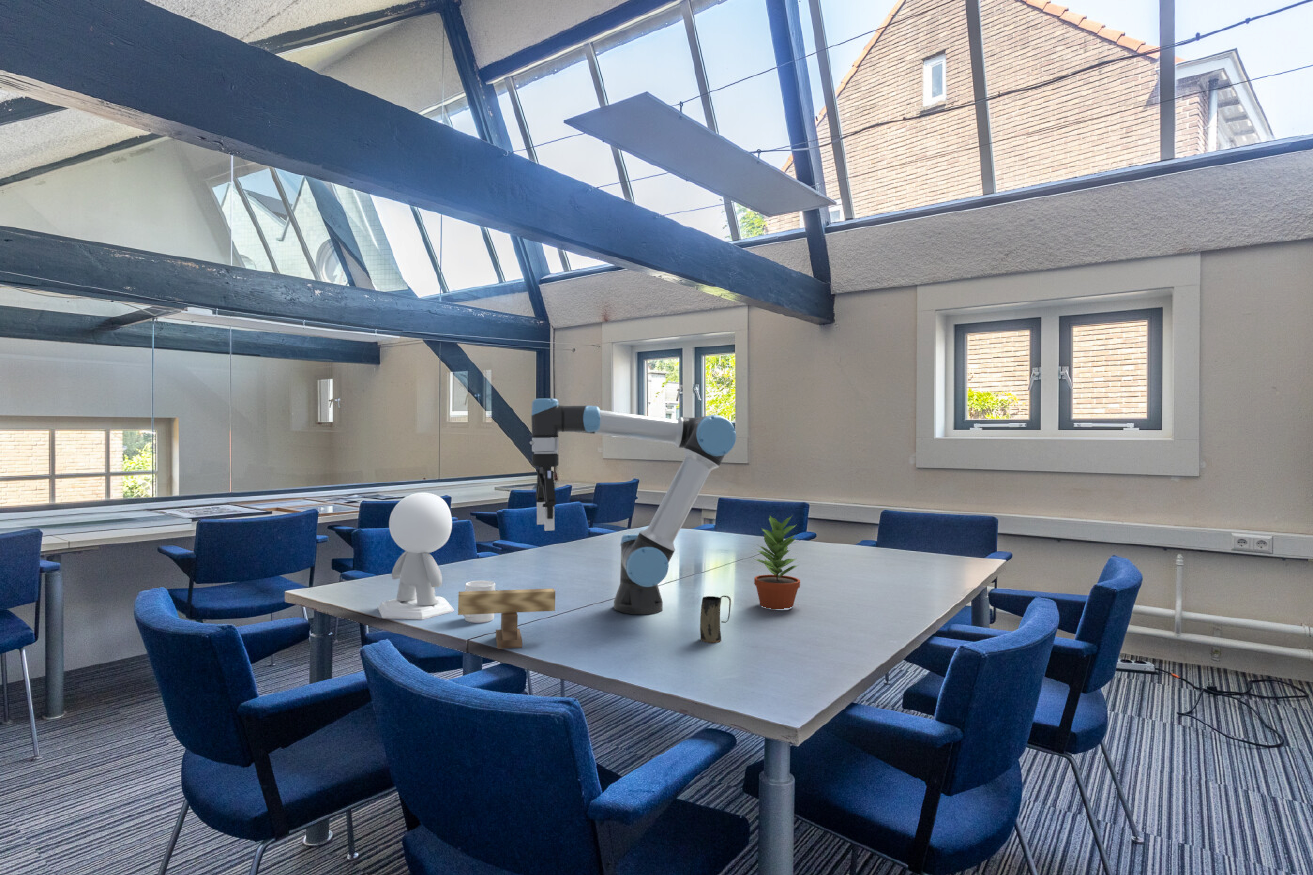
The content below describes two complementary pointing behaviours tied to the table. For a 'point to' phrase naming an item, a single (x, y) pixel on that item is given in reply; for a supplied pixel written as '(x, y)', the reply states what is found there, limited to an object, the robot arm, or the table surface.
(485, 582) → the mug
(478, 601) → the oak bar
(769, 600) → the potted plant
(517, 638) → the fulcrum
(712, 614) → the mug
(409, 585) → the big headed doll
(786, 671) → the table surface
